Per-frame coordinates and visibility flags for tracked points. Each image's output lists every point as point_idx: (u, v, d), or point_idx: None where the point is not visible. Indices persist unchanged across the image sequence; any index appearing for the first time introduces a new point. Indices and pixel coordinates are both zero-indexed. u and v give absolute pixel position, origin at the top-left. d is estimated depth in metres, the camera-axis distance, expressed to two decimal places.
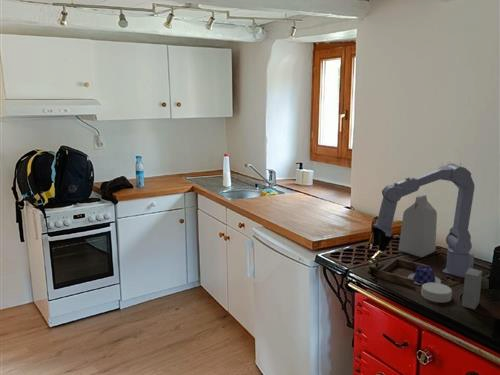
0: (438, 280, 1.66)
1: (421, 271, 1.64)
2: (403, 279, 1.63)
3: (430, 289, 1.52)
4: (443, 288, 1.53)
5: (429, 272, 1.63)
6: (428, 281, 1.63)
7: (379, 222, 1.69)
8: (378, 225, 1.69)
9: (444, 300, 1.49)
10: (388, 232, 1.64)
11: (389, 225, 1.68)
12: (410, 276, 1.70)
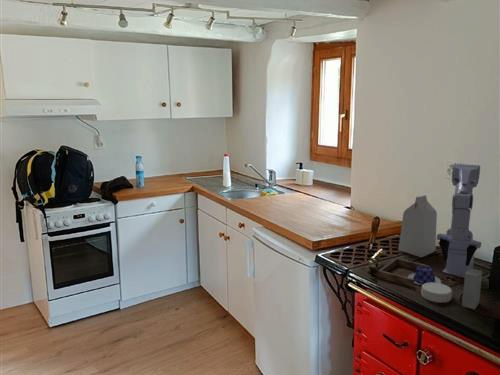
0: (438, 280, 1.66)
1: (421, 271, 1.64)
2: (403, 279, 1.63)
3: (430, 289, 1.52)
4: (443, 288, 1.53)
5: (429, 272, 1.63)
6: (428, 281, 1.63)
7: (460, 236, 1.53)
8: (460, 240, 1.53)
9: (444, 300, 1.49)
10: (480, 244, 1.51)
11: None
12: (410, 276, 1.70)
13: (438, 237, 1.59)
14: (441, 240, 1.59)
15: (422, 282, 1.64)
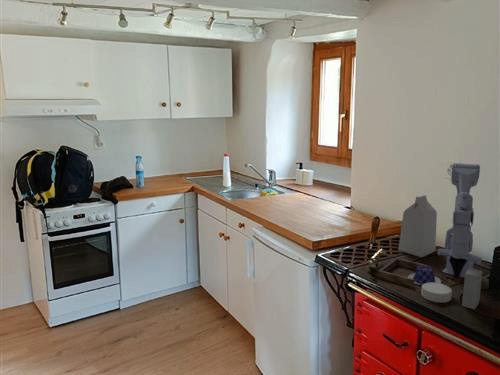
0: (438, 281, 1.66)
1: (420, 271, 1.64)
2: (403, 279, 1.63)
3: (430, 289, 1.52)
4: (443, 288, 1.53)
5: (428, 272, 1.63)
6: (427, 281, 1.63)
7: (461, 252, 1.54)
8: (461, 255, 1.54)
9: (444, 300, 1.49)
10: (480, 259, 1.52)
11: None
12: (410, 276, 1.70)
13: (439, 252, 1.60)
14: None
15: (422, 282, 1.64)
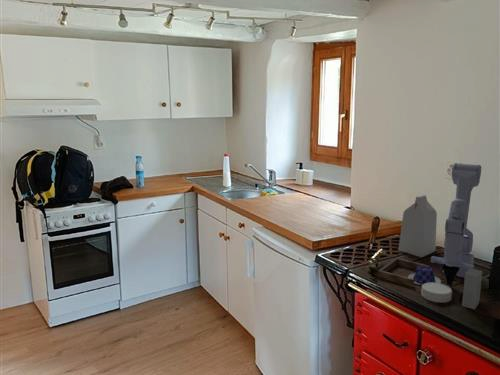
0: (438, 281, 1.66)
1: (420, 271, 1.64)
2: (403, 279, 1.63)
3: (430, 289, 1.52)
4: (443, 288, 1.53)
5: (428, 272, 1.63)
6: (427, 281, 1.63)
7: (454, 260, 1.56)
8: (453, 263, 1.56)
9: (444, 300, 1.49)
10: (473, 267, 1.54)
11: None
12: (411, 275, 1.71)
13: (432, 260, 1.63)
14: None
15: (421, 282, 1.64)
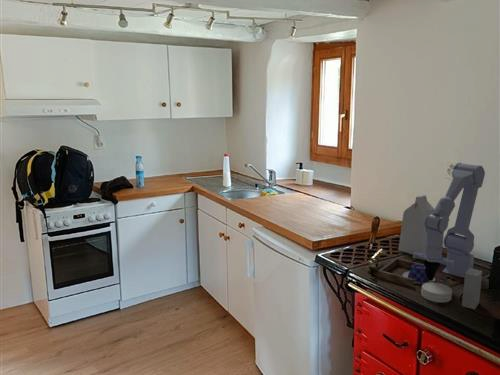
0: (433, 279, 1.67)
1: (414, 269, 1.66)
2: (403, 279, 1.63)
3: (430, 289, 1.52)
4: (443, 288, 1.53)
5: (422, 270, 1.65)
6: (421, 279, 1.65)
7: (435, 256, 1.60)
8: (434, 259, 1.60)
9: (444, 300, 1.49)
10: (453, 262, 1.58)
11: None
12: (405, 274, 1.72)
13: (414, 256, 1.67)
14: None
15: (415, 280, 1.65)
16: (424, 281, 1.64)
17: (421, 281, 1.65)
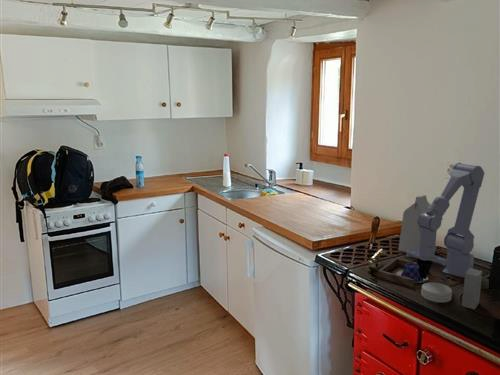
0: None
1: (408, 268, 1.67)
2: (403, 279, 1.63)
3: (430, 289, 1.52)
4: (443, 288, 1.53)
5: (416, 269, 1.66)
6: (414, 278, 1.66)
7: (427, 254, 1.62)
8: (427, 257, 1.62)
9: (444, 300, 1.49)
10: (445, 261, 1.60)
11: None
12: (399, 273, 1.73)
13: (407, 254, 1.69)
14: None
15: None
16: (417, 280, 1.66)
17: (414, 280, 1.66)
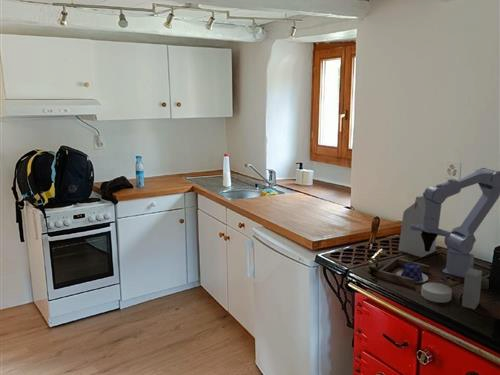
0: (426, 277, 1.69)
1: (408, 268, 1.67)
2: (403, 279, 1.63)
3: (430, 289, 1.52)
4: (443, 288, 1.53)
5: (416, 269, 1.66)
6: (414, 278, 1.66)
7: (432, 226, 1.64)
8: (431, 230, 1.64)
9: (444, 300, 1.49)
10: (449, 233, 1.63)
11: None
12: (399, 273, 1.73)
13: (411, 227, 1.71)
14: None
15: None
16: (417, 280, 1.66)
17: (414, 280, 1.66)
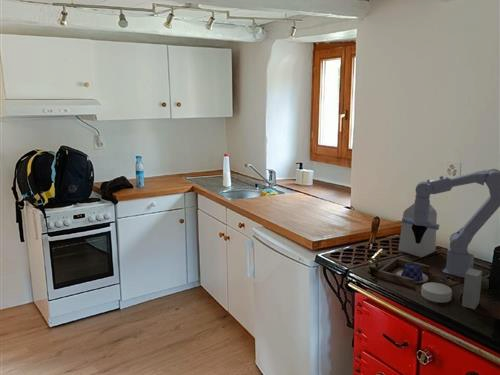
0: (426, 278, 1.68)
1: (408, 268, 1.67)
2: (403, 279, 1.63)
3: (430, 289, 1.52)
4: (443, 288, 1.53)
5: (416, 269, 1.66)
6: (414, 278, 1.66)
7: (421, 220, 1.73)
8: (421, 223, 1.74)
9: (444, 300, 1.49)
10: (438, 226, 1.72)
11: (427, 219, 1.75)
12: (399, 272, 1.73)
13: (403, 221, 1.80)
14: None
15: None
16: (417, 280, 1.66)
17: (414, 280, 1.66)
